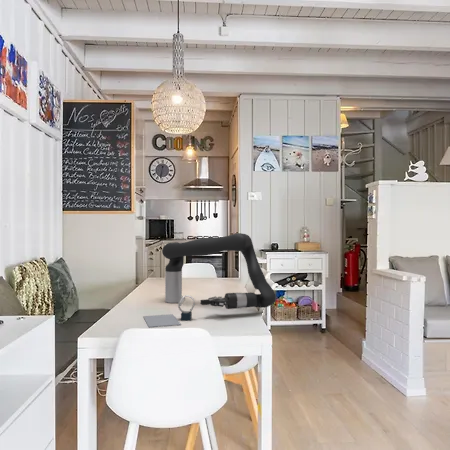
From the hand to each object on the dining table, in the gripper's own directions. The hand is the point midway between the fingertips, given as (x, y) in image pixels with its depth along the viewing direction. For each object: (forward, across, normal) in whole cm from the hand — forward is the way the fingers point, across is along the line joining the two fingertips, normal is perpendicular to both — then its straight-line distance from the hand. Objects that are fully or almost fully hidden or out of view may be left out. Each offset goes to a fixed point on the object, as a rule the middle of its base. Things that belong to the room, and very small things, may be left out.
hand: (200, 302), depth 192 cm
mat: (+18, 0, +8) cm, 20 cm away
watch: (+7, 0, +8) cm, 10 cm away
